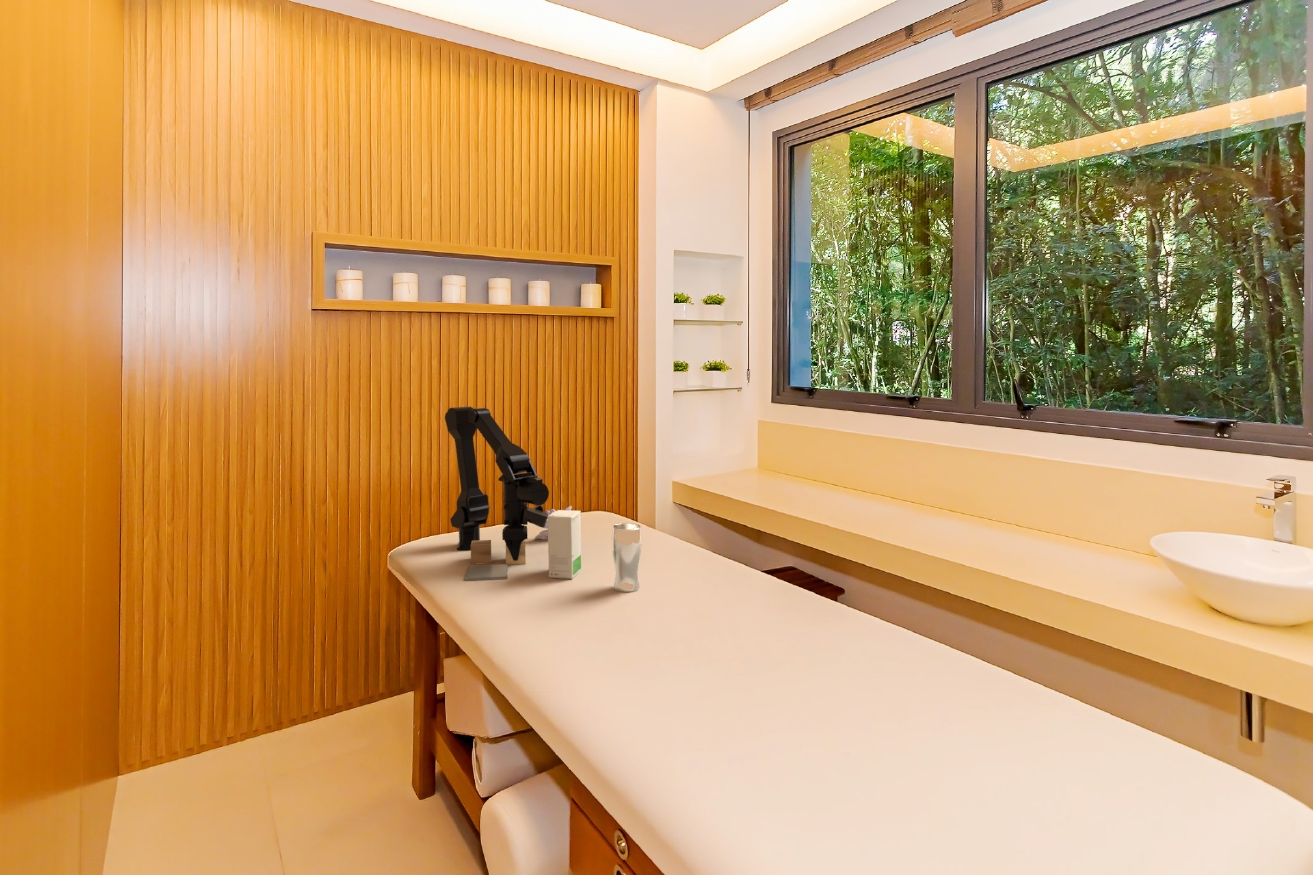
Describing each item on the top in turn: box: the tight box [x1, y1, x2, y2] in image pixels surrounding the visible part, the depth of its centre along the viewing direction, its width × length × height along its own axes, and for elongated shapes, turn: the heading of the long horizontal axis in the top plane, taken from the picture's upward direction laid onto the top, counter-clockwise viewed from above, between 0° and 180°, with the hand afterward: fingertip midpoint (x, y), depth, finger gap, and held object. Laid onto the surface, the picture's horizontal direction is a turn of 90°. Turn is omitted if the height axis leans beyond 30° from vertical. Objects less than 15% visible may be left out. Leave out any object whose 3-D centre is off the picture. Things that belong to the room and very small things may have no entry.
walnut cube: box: [470, 539, 492, 565], centre depth 191 cm, size 5×5×5 cm
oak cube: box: [505, 539, 527, 566], centre depth 191 cm, size 5×5×5 cm
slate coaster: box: [464, 563, 509, 582], centre depth 181 cm, size 10×10×1 cm
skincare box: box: [547, 509, 583, 580], centre depth 181 cm, size 8×7×16 cm
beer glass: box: [611, 522, 643, 593], centre depth 171 cm, size 7×7×15 cm
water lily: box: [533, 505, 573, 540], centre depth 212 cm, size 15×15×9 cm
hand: (515, 557), depth 191 cm, fingers closed on oak cube, 5 cm apart
